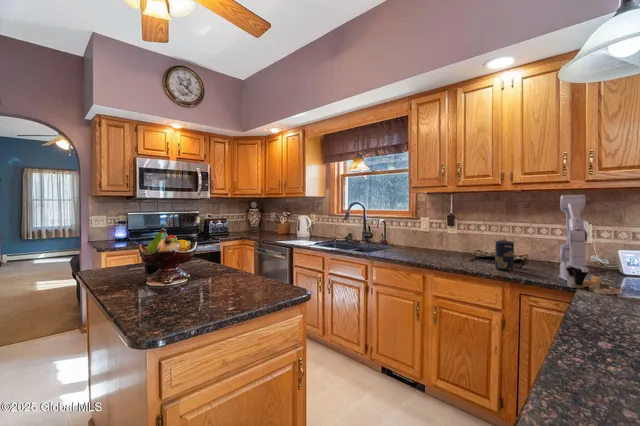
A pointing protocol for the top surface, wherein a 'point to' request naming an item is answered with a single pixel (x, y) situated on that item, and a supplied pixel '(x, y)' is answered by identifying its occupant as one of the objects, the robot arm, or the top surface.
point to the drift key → (594, 280)
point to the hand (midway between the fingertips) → (576, 283)
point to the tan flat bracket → (605, 290)
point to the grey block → (573, 282)
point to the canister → (504, 255)
